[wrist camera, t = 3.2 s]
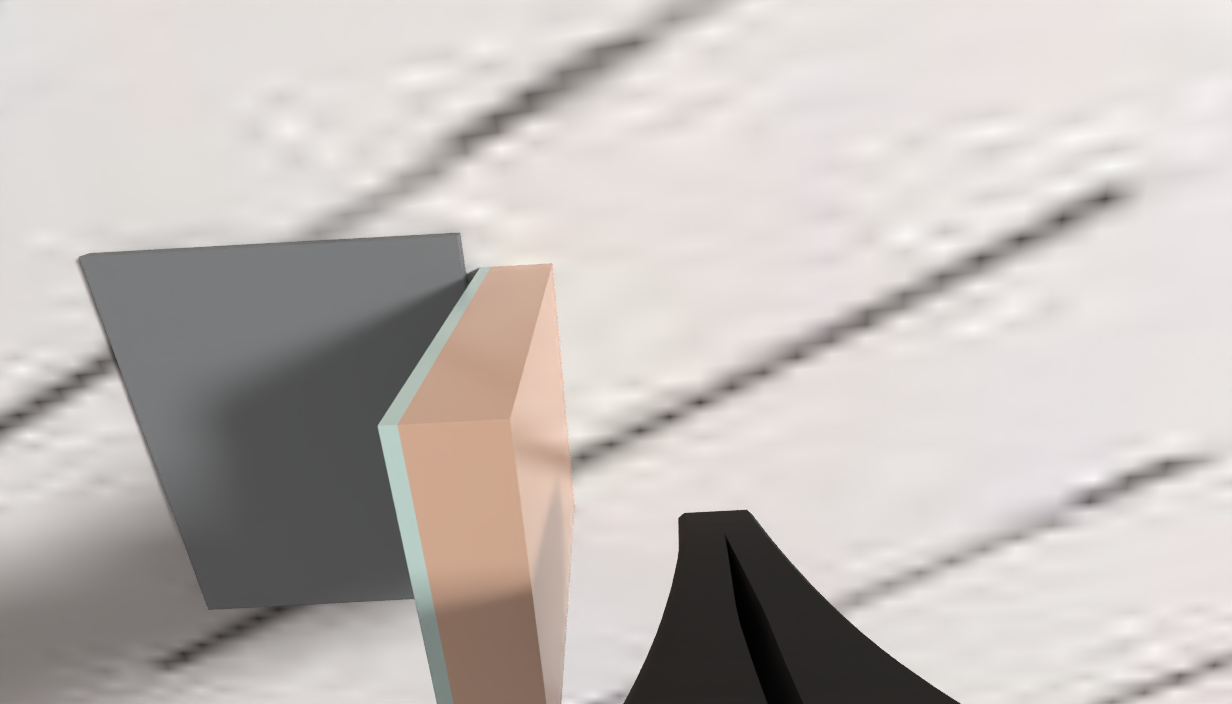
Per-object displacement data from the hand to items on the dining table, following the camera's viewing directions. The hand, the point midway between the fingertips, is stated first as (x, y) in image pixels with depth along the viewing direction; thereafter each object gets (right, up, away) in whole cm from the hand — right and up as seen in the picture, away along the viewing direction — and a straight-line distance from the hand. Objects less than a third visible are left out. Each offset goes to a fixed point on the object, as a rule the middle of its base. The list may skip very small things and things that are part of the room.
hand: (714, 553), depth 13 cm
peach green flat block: (-4, +3, +7) cm, 9 cm away
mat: (-11, +1, +7) cm, 13 cm away
